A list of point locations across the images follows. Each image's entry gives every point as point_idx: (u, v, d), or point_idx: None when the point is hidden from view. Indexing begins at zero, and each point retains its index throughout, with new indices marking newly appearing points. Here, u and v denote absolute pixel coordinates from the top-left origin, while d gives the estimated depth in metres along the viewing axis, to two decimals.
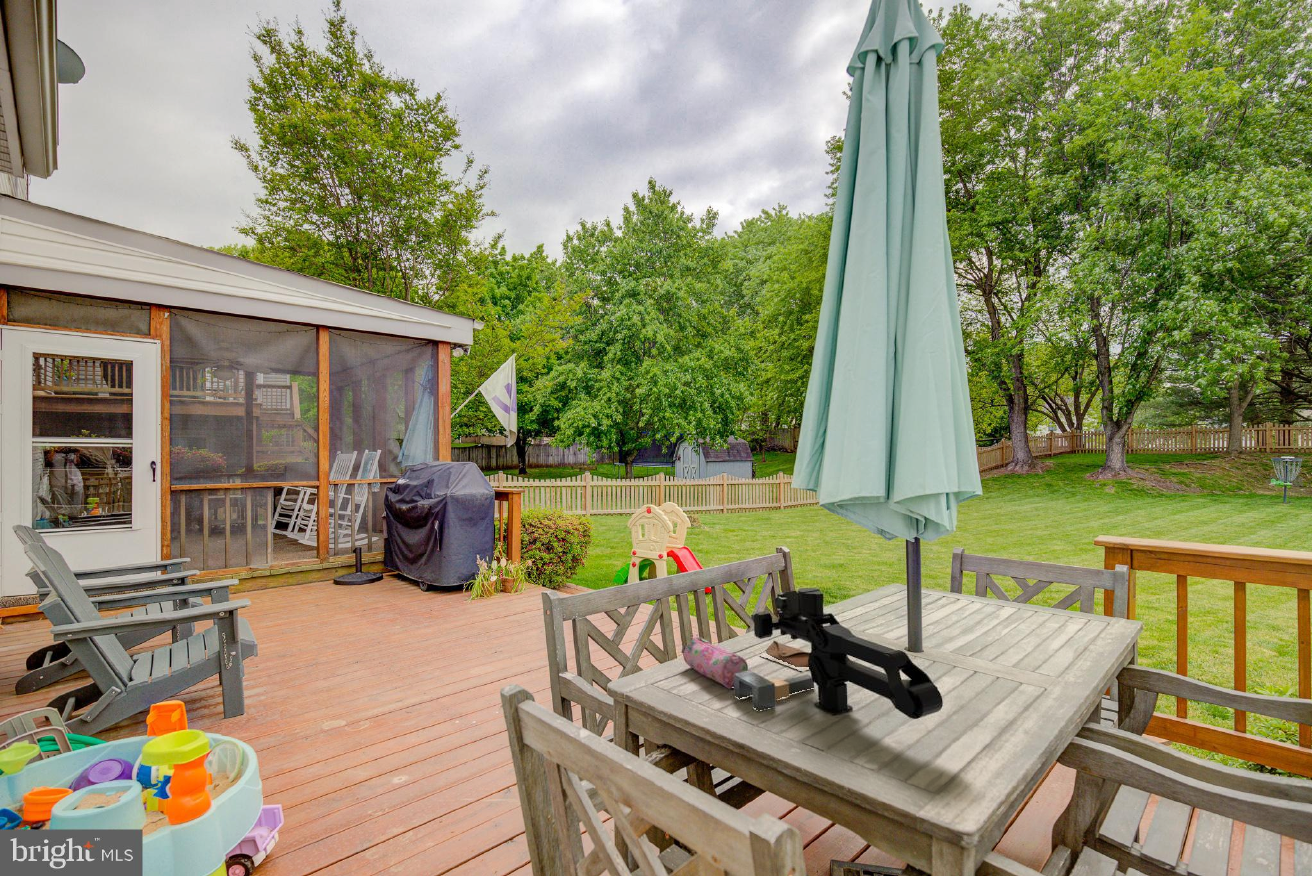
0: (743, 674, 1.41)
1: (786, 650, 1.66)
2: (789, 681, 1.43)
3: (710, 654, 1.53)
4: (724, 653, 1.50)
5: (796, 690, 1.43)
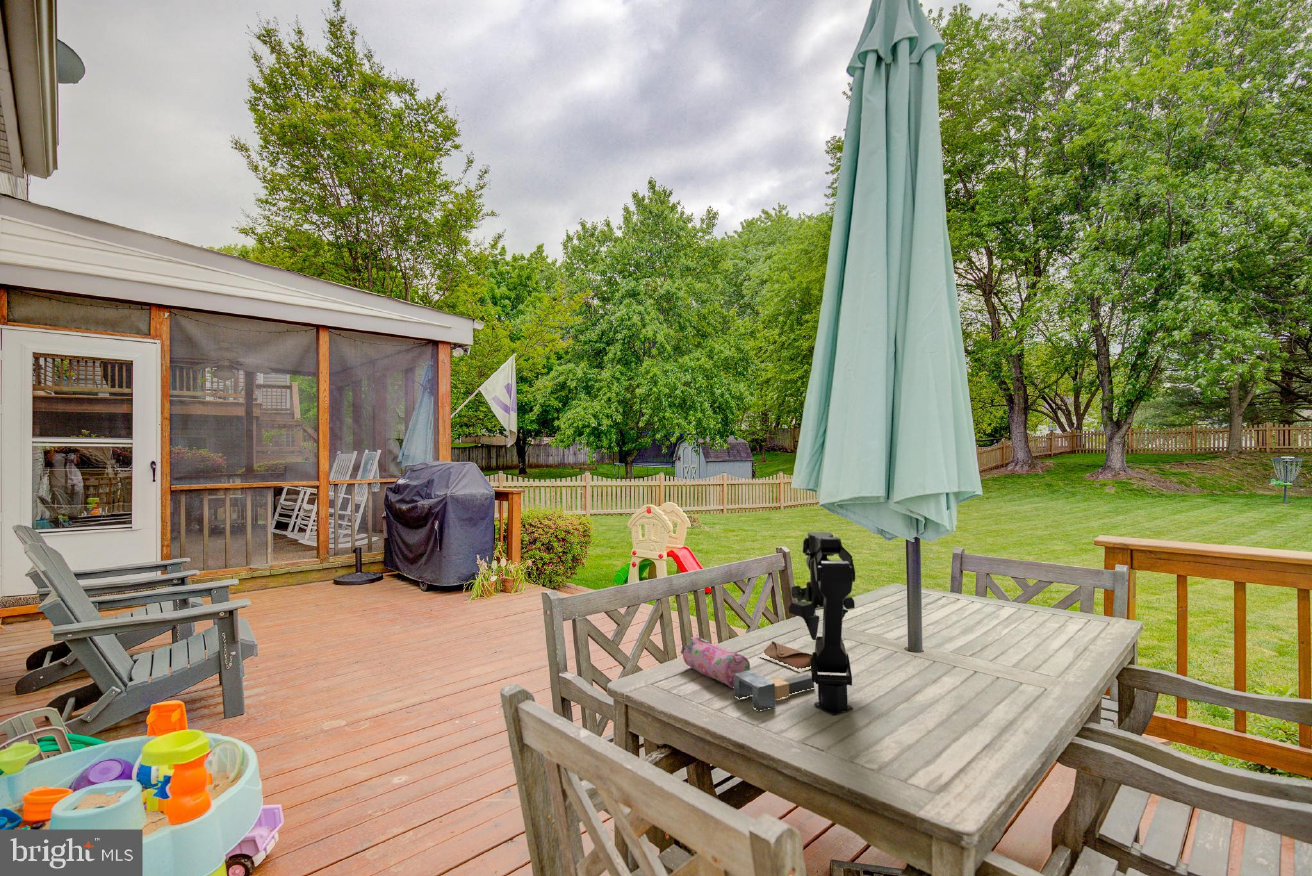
0: (743, 674, 1.41)
1: (784, 651, 1.66)
2: (789, 681, 1.43)
3: (712, 654, 1.53)
4: (726, 652, 1.50)
5: (796, 690, 1.43)
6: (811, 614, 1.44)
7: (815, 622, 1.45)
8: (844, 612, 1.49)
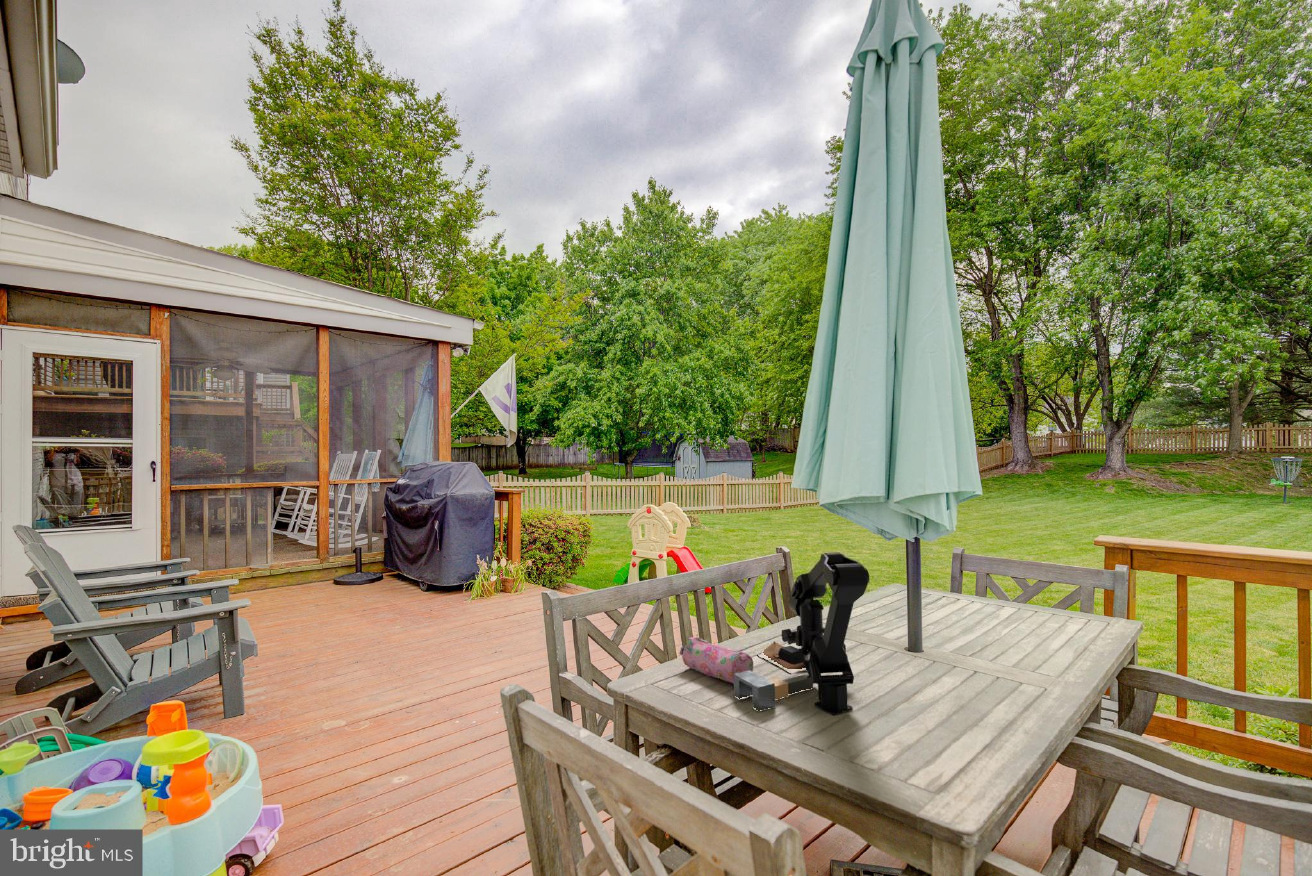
0: (743, 674, 1.41)
1: None
2: (788, 681, 1.43)
3: (715, 653, 1.53)
4: (730, 651, 1.51)
5: (795, 690, 1.43)
6: (800, 661, 1.42)
7: None
8: None
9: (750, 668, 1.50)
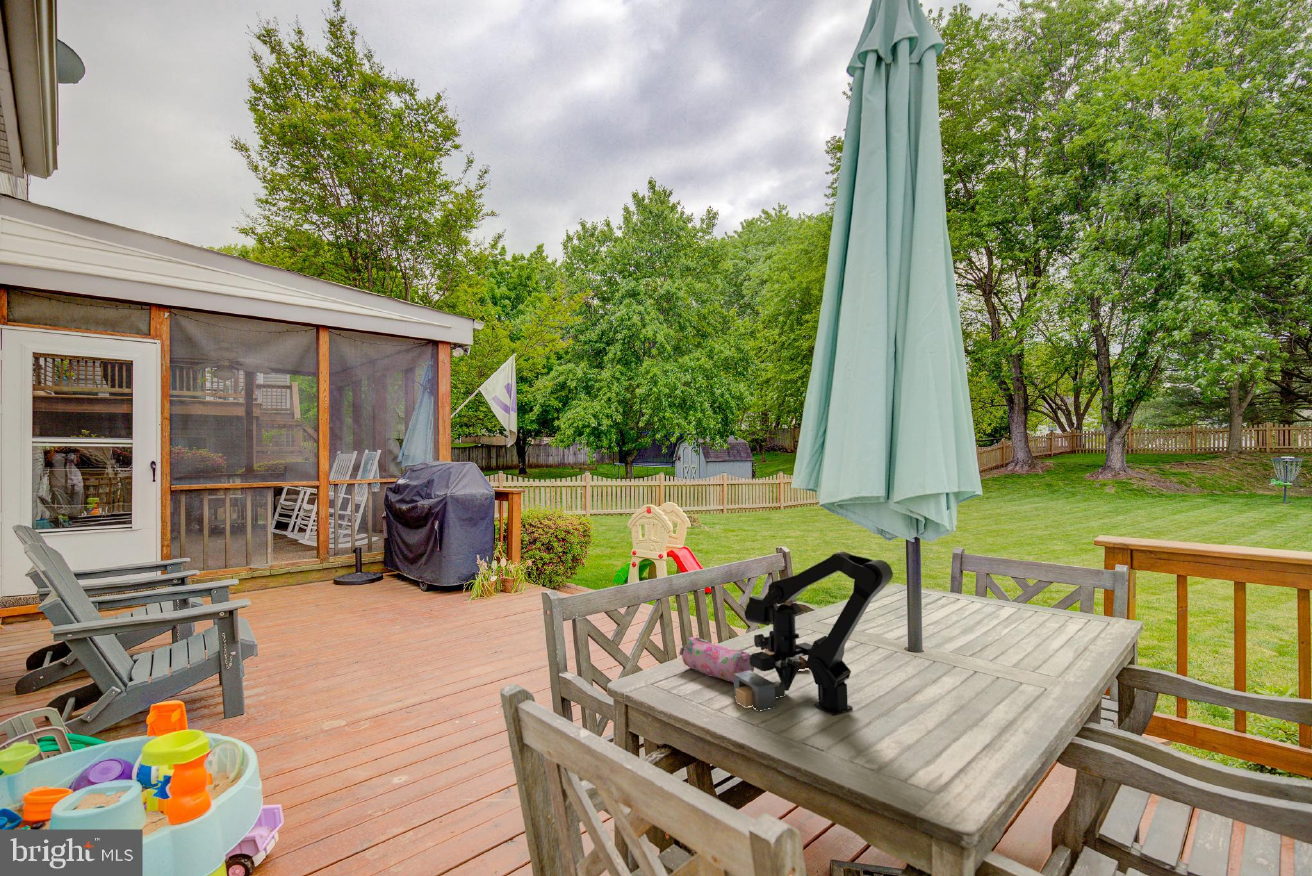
0: (743, 674, 1.41)
1: None
2: None
3: (716, 653, 1.53)
4: (731, 651, 1.51)
5: None
6: (771, 667, 1.37)
7: (786, 673, 1.40)
8: (798, 666, 1.41)
9: (751, 667, 1.51)
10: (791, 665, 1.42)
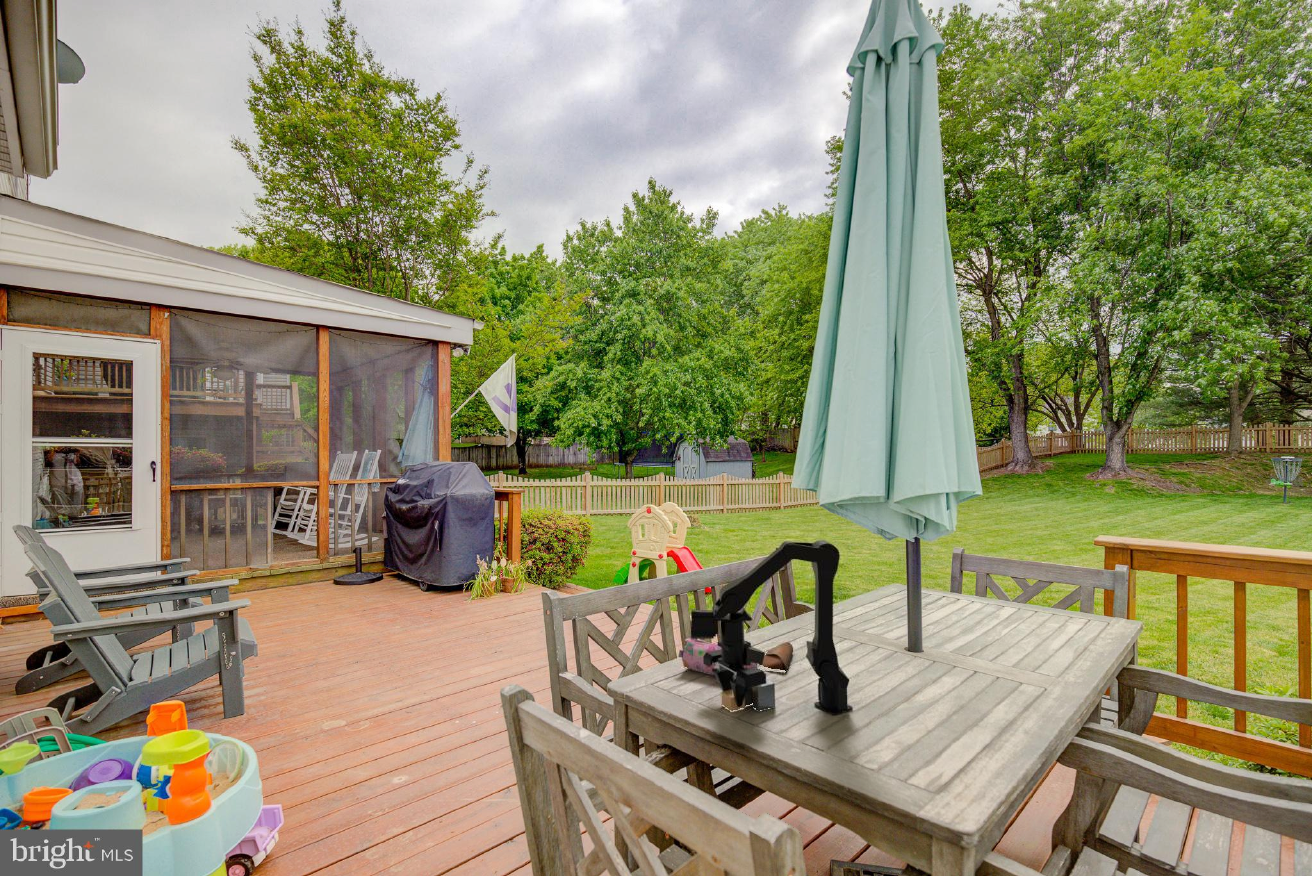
0: None
1: (774, 650, 1.66)
2: None
3: None
4: None
5: None
6: (707, 664, 1.40)
7: (716, 677, 1.38)
8: (733, 683, 1.31)
9: None
10: None
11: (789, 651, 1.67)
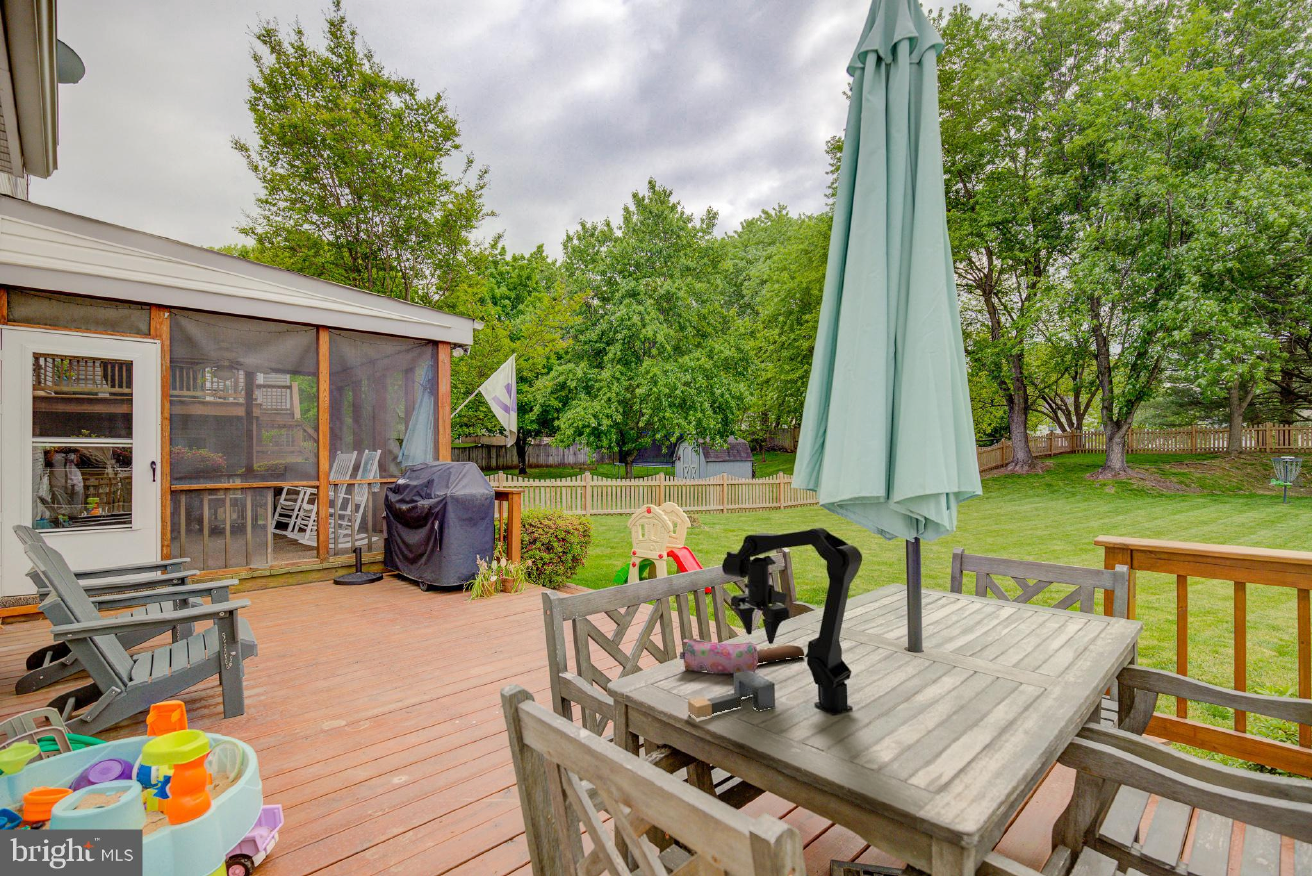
0: (743, 674, 1.41)
1: (771, 648, 1.69)
2: (713, 700, 1.32)
3: (724, 650, 1.56)
4: (740, 645, 1.57)
5: (720, 710, 1.32)
6: (735, 605, 1.54)
7: (738, 614, 1.54)
8: (765, 621, 1.43)
9: None
10: None
11: (784, 653, 1.65)
